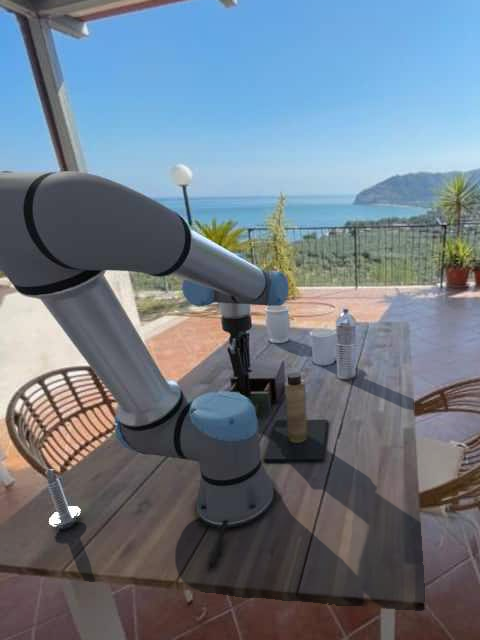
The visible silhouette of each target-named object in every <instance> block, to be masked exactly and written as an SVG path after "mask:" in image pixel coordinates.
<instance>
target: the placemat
mask: <svg viewBox="0 0 480 640" xmlns="http://www.w3.org/2000/svg"><path fill="white" fill-rule="evenodd" d="M327 425H328V419H307V434H308V437H307V439H306V440H305V441H303V442H300V443H293V442H291V441H289V439H288V426H287V419H277V421H276V423H275V427H274V429H273V432H272V435H271V438H270V441H269V444H268V447H267V450H266V452H265V455H264V458H263V462H265V463H269V462H270V463H272V462H273V463H275V462H279V463H280V462H281V463H282V462H284V463H285V462H288V463H289V462H323V458H324V452H325V451H324V450H325V441H326V434H327Z"/></svg>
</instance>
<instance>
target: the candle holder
mask: <svg viewBox="0 0 480 640" xmlns="http://www.w3.org/2000/svg"><path fill="white" fill-rule="evenodd" d="M309 334H310V341H311V354H312V361H313V363H314V364H315V365H317V366H330V365H333V364H334V363H335V361H336V330H334V329H332V328H315V329H313V330H311V331H310V332H309Z"/></svg>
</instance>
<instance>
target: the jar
mask: <svg viewBox="0 0 480 640" xmlns="http://www.w3.org/2000/svg"><path fill="white" fill-rule="evenodd" d="M289 311H290V307H289V306H287V305H280V306H267V307H265V308H264V313H265V320H264V321H265V326H266V327H265V328H266V330H267V334H268V336H269V342H270V343H273V344H283V343H284V344H285V343H286V342H288V341H289V340H290V338H289V337H288V336H289V334H290V326H291V318H290V314H289Z"/></svg>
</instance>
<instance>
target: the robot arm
mask: <svg viewBox="0 0 480 640" xmlns="http://www.w3.org/2000/svg"><path fill="white" fill-rule="evenodd" d="M0 270H1V272H2V273H3V274H4V276H5V278H7V279H8V281H9V282H10V284H12V285H13V287H14V288H15V289H16V291H17V292H18V293H19V294H20V295H21V296H24V297H28V298H33V299H37V300H40V301H41V302H42V304H43V305H44V307H45V308H46V309H47V311H48V312H49V313H50V315H51V316H52V317H53V318H54V320H55V322H56V323H57V324H58V325H59V327H60V328H61V329H62V331H63V332H64V333H65V334H66V336H67V338H68V339H69V340H70V342H71V343H72V344H73V346H75V348H76V349H77V351H78V352H79V354H80V355H81V356H82V358H84V360H85V361H86V363H87V364H88V365H89V367H90V368H91V369H92V370H93V372H94V373H95V375H96V376H97V377H98V379H99V380H100V381H101V383H102V384H103V386H104V387H105V388H106V389H107V391H108V392H109V393H110V395H111V396H112V397H113V399H114V400H115V402H116V403H117V404H116V408H115V415H114V424H116V426H115V427H114V433H115V436H116V438H117V440H118V442H119V443H120V444H121V445H122V446H123V447H124V448H125V449H128V450H130V451H133V452H136V453H138V454H142V455H150V456H160V457H166V458H173V459H181V460H188V461H194V462H198V464H199V465H198V466H199V471H200V475H201V476H200V477H201V478H200V483H199V486H198V492H197V495H196V510H197V515H198V517H199V518H200V520H201V521H202V522H203V523H204V524H206V525H208V526H211V527H213V528H217V529H220V531H219V534H218V538H217V541H216V545H215V547H214V548H215V549H214V551H213V554H212V557H211V560H210V562H209V566H212V567H213V566H215V565H216V561H217V558H218V556H219V554H220V550H221V547H222V542H223V539H224V534H225V531H226V529H233V528H238V527H242V526H245V525H247V524H249V523H252V522H254V521H256V520H258V518H260V517H261V516H263V515H264V514H265V513H266V512H267V511H268V509H269V508H270V507H271V505H272V503H273V500H274V495H275V493H274V486H273V482H272V479H271V478H270V476H269V474H268V473H267V471H266V469H265V467H264V465H263V463H262V456H261V454H262V453H261V444H260V436H259V420H258V417H257V414H256V412H255V408H254V405H253V404H252V402H251V401H250V400H249V399H248V398H247V397H249V396H250V395H251V390H250V381H249V373H247V372H251V371H252V369H249V368H250V359H251V351H250V336H251V334H250V332H247V331H250V330H251V329H252V327H253V324H252V323H253V322H252V315H251V314H250V313H251V311H252V310H251V305H253V306H267V307H270V306H284V305H285V303H286V302H287V299H288V297H289V282H288V277H287V275H285V273H284V272H282V271H275V270H264V269H262V268H260V267H258V266H256V265H255V264H253V263H251V262H249V261H247V260H246V259H245V257H244V255H243V254H241V253H235V252H231V251H230V250H228V249H226V248H224V247H222V246H221V245H219V244H218V243H216V242H214V241H212V240H210V239H209V238H207V237H204V236H203V235H201V234H200V233H198V232H197V231H195V230H193V229H191V227H190V225H189V223H188V221H187V220H186V219H185V217H184V216H182V215H180V214H179V213H177V212H176V211H174V210H172V209H171V208H169V207H167V206H166V205H164V204H163V203H161V202H158V201H157V200H155V199H153V198H151V197H149V196H147V195H145V194H143V193H141V192H139V191H137V190H135V189H132V188H131V187H128V186H126V185H124V184H122V183H119V182H117V181H114V180H111V179H110V178H109V179H108V178H106V177H102V176H99V175H97V174H92V173H87V172H82V171H75V170H74V171H73V170H72V171H70V170H69V171H67V170H65V171H54V172H53V171H46V172H45V171H42V172H40V171H39V172H38V171H36V172H35V171H34V172H31V171H30V172H17V171H16V172H14V171H8V170H1V171H0ZM107 271H117V272H132V273H133V272H135V273H140V274H141V273H142V274H146V275H148V276H151V277H156V278H164V277H169V276H174V277H177V278H178V279H179V278H180V279H183V280H182V282H181V290H182V294H183V296H184V298H185V299H186V301H188V302H189V303H190V304H191V305H193V306H196V307H205V306H210V305H212V304H213V303H216V304H217V306H218V307H219V313H220V315H221V317H220V322H221V328H222V331H223V332H224V333H228V334H229V338H228V342H229V345H230V346H228V347H227V349H226V350H227V353H228V355H229V360H230V364H231V367H232V368H231V369H232V372H233V374H234V376H235V377H238V385H239V392H240V394H238V393H235V392H229V390H219V391H218V392H214V391H210V392H207V393H204V394H201V395H199V396H197V397H196V398H195V399H193V398H188V397H186V395H185V394H184V392H183V390H182V389H181V387H180V385H179V384H178V382H176V381H175V380H173V379H170V378H165V377H164V374H163V373H162V372H161V370H160V368H159V367H158V365H157V363H156V361H155V359H154V358H153V357H152V355H151V353H150V351H149V350H148V347H147V346H146V344H145V342H144V341H143V339H142V338H141V336H140V334H139V332H138V331H137V329H136V328H135V326H134V323H133V322H132V321H131V318H130V317H129V315H128V313H127V311H126V310H125V308H124V307H123V305H122V304H121V302H120V300H119V298H118V297H117V294H116V293H115V291H114V290H113V288H112V286H111V284H110V283H109V281H108V280H107V278H106V276H105V273H106V272H107Z"/></svg>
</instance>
